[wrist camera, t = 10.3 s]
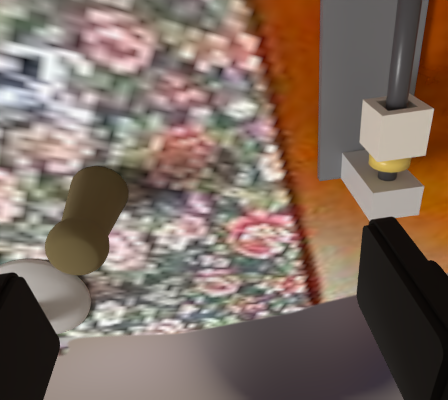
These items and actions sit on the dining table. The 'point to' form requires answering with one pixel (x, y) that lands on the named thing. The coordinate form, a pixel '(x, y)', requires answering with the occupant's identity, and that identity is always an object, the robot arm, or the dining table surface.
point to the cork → (87, 221)
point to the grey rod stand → (367, 96)
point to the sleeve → (395, 129)
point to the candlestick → (54, 292)
